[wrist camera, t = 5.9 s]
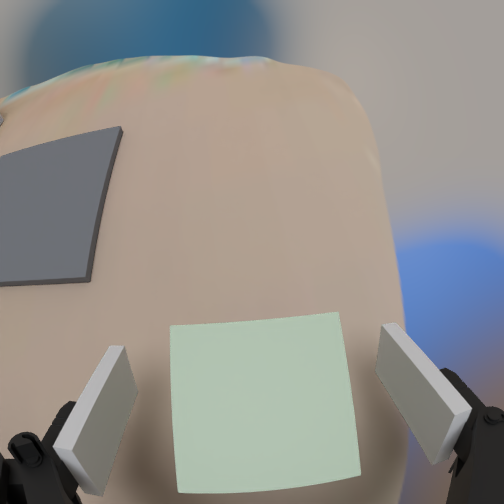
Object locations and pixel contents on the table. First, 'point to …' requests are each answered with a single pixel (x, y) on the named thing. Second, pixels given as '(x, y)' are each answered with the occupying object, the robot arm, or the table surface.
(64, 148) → the mat
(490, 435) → the robot arm
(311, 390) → the sage block
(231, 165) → the table surface
